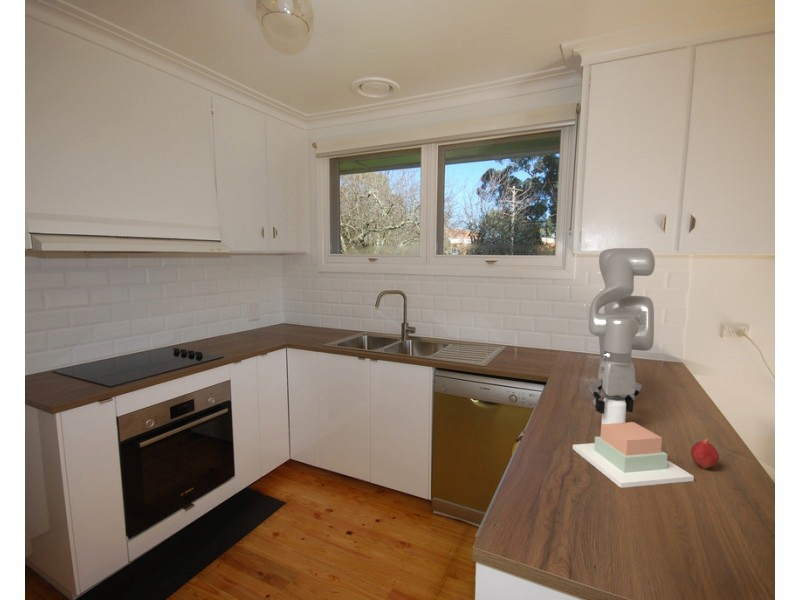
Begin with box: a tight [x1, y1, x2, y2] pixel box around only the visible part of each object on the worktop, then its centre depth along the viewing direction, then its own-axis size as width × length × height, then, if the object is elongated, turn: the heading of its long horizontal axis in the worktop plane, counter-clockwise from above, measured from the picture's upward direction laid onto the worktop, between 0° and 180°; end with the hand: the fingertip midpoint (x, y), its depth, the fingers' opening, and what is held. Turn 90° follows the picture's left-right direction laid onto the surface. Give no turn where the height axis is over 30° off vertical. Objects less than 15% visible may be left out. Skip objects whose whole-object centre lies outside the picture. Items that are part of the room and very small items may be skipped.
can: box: [601, 395, 627, 424], centre depth 124 cm, size 6×6×12 cm
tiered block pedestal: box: [572, 421, 695, 489], centre depth 107 cm, size 20×20×9 cm
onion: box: [690, 439, 720, 470], centre depth 104 cm, size 6×6×8 cm
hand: (613, 411), depth 124 cm, fingers open, 9 cm apart
